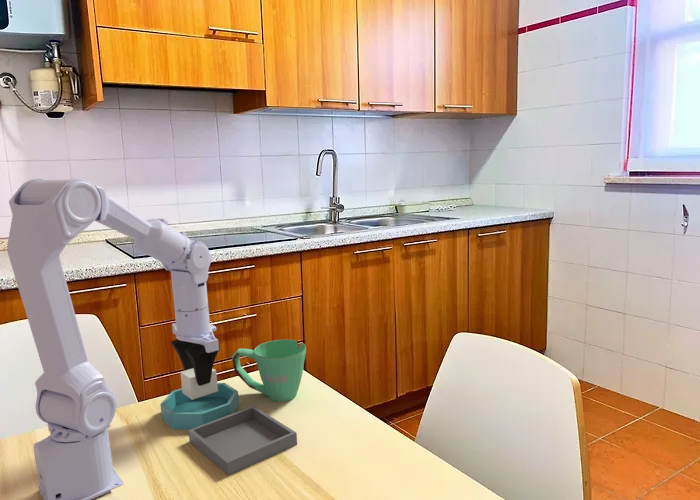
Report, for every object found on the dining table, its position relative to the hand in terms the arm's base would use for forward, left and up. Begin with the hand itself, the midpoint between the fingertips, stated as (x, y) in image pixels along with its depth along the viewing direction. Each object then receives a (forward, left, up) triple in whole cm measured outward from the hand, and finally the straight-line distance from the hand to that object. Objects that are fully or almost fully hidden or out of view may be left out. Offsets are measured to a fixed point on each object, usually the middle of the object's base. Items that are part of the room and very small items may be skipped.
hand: (198, 379), depth 99 cm
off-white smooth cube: (0, 0, -2) cm, 2 cm away
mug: (+13, -3, -7) cm, 15 cm away
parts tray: (0, -15, -7) cm, 16 cm away
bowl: (0, 0, -7) cm, 7 cm away
